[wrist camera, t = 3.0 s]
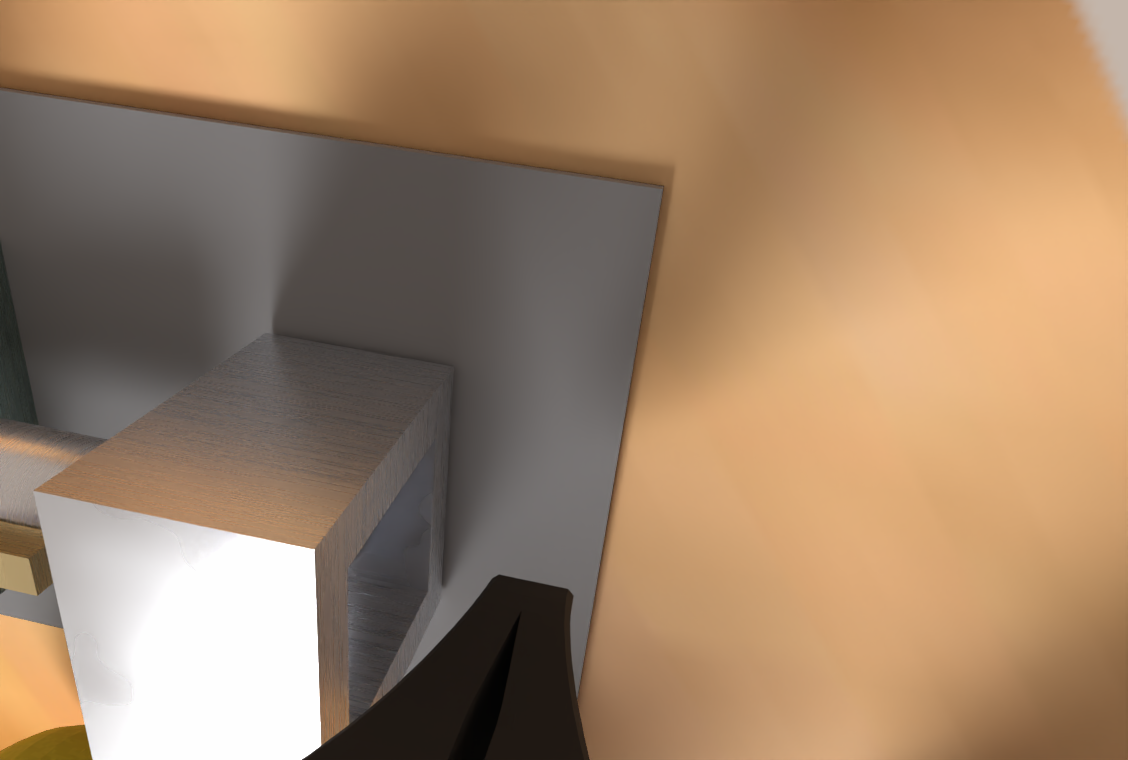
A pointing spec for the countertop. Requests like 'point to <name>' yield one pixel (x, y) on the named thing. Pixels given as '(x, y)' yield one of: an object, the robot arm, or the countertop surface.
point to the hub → (253, 553)
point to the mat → (339, 304)
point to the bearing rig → (25, 460)
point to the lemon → (51, 745)
